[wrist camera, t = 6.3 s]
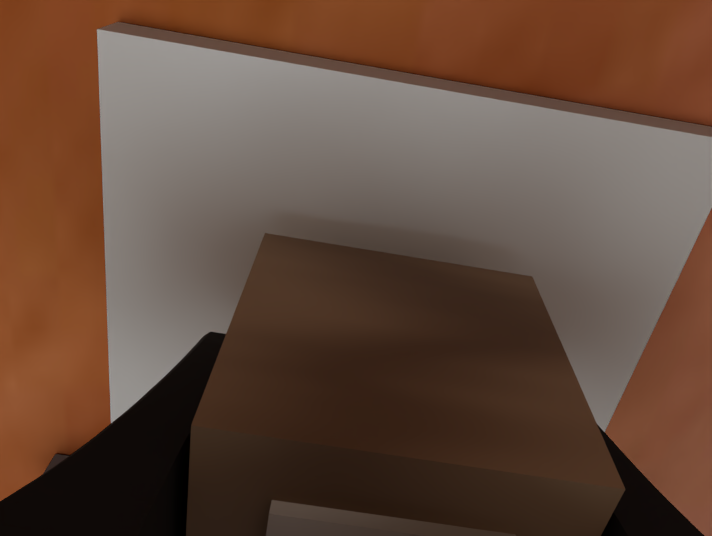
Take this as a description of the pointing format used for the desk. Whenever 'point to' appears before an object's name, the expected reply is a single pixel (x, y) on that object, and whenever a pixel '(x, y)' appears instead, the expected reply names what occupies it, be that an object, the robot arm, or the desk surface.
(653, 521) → the robot arm
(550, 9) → the desk surface
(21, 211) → the desk surface
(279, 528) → the brown cube
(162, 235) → the pad
